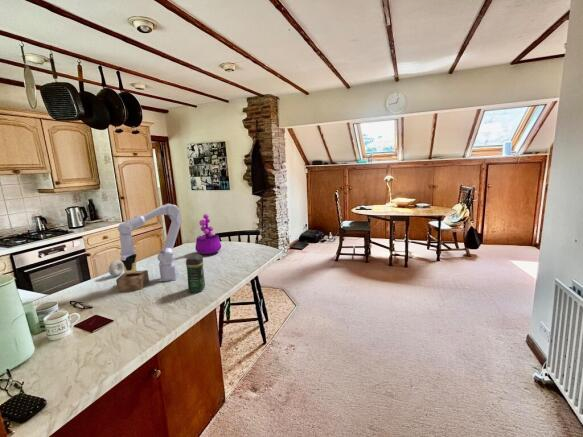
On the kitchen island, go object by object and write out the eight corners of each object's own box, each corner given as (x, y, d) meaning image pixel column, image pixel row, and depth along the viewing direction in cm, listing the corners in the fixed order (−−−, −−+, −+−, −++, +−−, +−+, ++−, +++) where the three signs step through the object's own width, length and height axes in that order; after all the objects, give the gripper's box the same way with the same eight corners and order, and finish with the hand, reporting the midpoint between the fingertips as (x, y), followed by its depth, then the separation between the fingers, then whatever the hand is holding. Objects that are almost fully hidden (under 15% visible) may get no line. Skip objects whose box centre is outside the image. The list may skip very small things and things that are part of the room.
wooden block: (136, 270, 159) (135, 261, 159) (134, 272, 157) (133, 263, 156) (126, 271, 159) (125, 262, 158) (124, 273, 156) (123, 264, 155)
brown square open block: (148, 280, 168) (147, 270, 167) (141, 289, 156) (140, 277, 155) (126, 282, 166) (125, 271, 165) (117, 291, 154) (116, 279, 153)
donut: (113, 279, 172) (110, 263, 170) (108, 278, 173) (106, 262, 171) (126, 273, 181) (124, 257, 180) (121, 272, 182) (119, 257, 180)
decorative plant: (207, 258, 207) (204, 216, 201) (190, 254, 217) (186, 215, 211) (226, 251, 222) (223, 212, 217) (210, 248, 232) (207, 211, 227)
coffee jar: (202, 292, 149) (199, 258, 146) (186, 293, 149) (183, 259, 145) (206, 285, 159) (204, 252, 155) (192, 286, 158) (189, 253, 155)
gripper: (124, 242, 161) (127, 265, 164) (113, 249, 147) (116, 274, 150) (138, 241, 163) (141, 264, 165) (127, 248, 148) (131, 273, 151)
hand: (130, 269), depth 157 cm, fingers closed on wooden block, 3 cm apart
